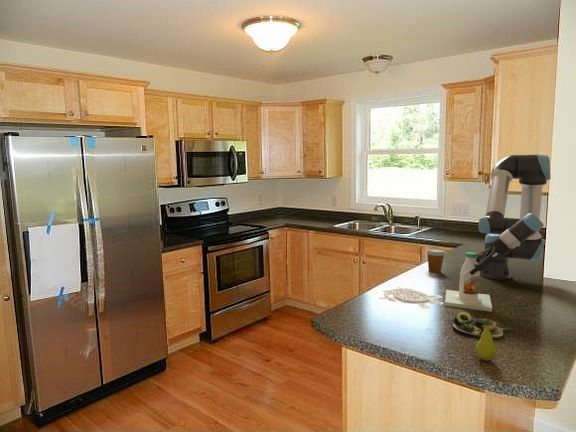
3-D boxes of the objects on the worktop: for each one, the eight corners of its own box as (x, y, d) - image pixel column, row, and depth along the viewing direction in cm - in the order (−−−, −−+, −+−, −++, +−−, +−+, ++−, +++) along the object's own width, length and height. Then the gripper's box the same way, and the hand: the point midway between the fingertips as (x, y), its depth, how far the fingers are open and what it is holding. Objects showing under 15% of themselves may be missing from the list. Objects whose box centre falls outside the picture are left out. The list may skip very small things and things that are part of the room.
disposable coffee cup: (436, 268, 231) (437, 248, 230) (447, 273, 223) (448, 251, 221) (421, 270, 228) (423, 249, 227) (433, 274, 220) (434, 252, 218)
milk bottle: (455, 298, 177) (458, 253, 174) (462, 293, 183) (465, 250, 180) (474, 302, 172) (477, 255, 169) (480, 297, 177) (483, 253, 175)
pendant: (391, 286, 200) (391, 283, 200) (450, 298, 183) (450, 295, 183) (371, 297, 183) (372, 294, 183) (434, 312, 166) (434, 309, 166)
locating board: (446, 292, 189) (446, 289, 189) (489, 298, 182) (489, 294, 182) (444, 305, 173) (445, 301, 172) (492, 311, 166) (492, 307, 165)
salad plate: (507, 325, 153) (508, 313, 153) (514, 344, 137) (515, 331, 136) (452, 317, 161) (453, 306, 160) (452, 335, 144) (452, 322, 143)
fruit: (492, 366, 121) (495, 328, 120) (472, 360, 125) (474, 322, 124) (497, 359, 126) (500, 322, 124) (478, 353, 130) (480, 317, 128)
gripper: (516, 256, 157) (470, 288, 165) (508, 244, 180) (469, 273, 187) (501, 241, 158) (457, 274, 166) (496, 231, 181) (457, 260, 189)
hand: (463, 273), depth 177 cm, fingers open, 13 cm apart
